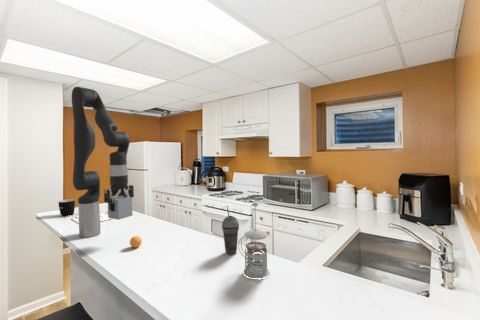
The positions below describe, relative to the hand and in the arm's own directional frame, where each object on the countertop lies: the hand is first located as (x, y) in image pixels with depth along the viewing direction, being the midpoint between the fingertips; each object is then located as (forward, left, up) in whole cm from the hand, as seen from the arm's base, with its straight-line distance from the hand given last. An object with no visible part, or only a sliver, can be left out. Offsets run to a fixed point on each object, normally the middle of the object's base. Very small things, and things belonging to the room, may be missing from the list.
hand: (120, 209), depth 113 cm
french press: (+68, +3, -16) cm, 70 cm away
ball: (+11, 0, -14) cm, 17 cm away
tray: (-56, +20, -17) cm, 62 cm away
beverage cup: (+53, +13, -16) cm, 56 cm away
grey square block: (0, 0, -4) cm, 4 cm away
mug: (-77, +17, -17) cm, 81 cm away
